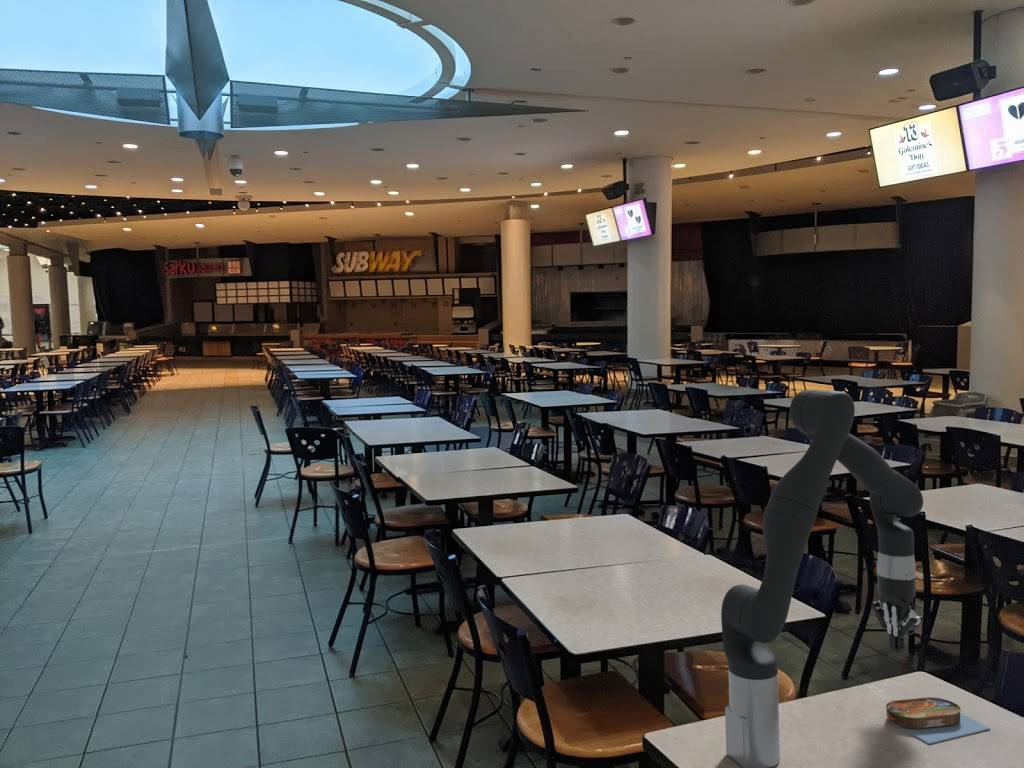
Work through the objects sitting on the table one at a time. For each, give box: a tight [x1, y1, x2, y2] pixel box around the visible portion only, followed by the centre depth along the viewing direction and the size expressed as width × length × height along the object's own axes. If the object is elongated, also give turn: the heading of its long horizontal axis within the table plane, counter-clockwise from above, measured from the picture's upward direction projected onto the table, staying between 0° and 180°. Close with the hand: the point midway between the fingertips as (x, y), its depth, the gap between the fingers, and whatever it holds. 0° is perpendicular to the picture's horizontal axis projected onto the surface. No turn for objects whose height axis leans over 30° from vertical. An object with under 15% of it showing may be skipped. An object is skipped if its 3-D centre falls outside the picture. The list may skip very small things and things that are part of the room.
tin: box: [885, 696, 961, 729], centre depth 167 cm, size 15×3×8 cm
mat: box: [889, 712, 991, 746], centre depth 164 cm, size 16×10×1 cm, turn 108°
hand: (896, 651), depth 174 cm, fingers closed
